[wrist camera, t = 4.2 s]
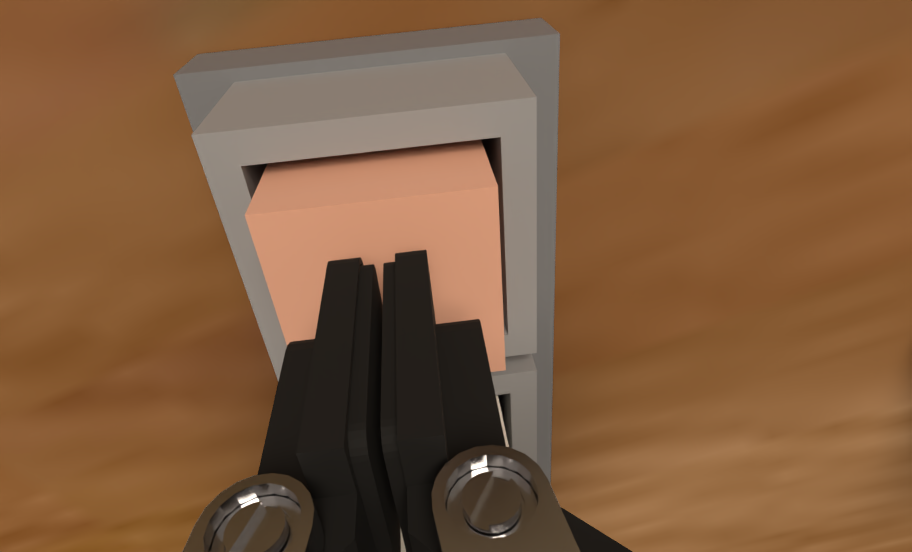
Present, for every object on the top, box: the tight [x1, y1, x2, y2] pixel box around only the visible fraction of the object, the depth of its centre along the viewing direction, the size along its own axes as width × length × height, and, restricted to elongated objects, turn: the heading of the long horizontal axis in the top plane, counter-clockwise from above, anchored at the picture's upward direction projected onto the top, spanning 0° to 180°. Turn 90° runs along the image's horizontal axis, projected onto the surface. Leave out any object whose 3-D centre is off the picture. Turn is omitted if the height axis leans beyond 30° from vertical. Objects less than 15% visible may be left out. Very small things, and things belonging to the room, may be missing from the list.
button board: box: [174, 18, 560, 483], centre depth 19 cm, size 21×9×6 cm, turn 5°
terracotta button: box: [245, 139, 506, 372], centre depth 12 cm, size 4×4×3 cm
